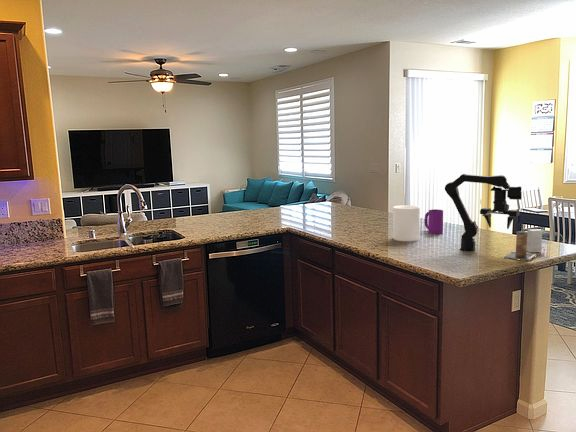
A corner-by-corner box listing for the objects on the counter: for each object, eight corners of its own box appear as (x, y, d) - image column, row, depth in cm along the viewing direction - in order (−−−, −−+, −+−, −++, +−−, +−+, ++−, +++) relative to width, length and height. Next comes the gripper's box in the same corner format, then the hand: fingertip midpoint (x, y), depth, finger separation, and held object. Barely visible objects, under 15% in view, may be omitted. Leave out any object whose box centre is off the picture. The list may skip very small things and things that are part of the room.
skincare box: (537, 250, 255) (538, 228, 253) (541, 252, 251) (542, 230, 249) (525, 251, 255) (526, 229, 253) (530, 253, 251) (531, 230, 249)
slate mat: (503, 258, 242) (503, 255, 242) (511, 253, 251) (511, 251, 251) (529, 261, 234) (529, 258, 234) (536, 256, 243) (536, 254, 243)
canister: (420, 241, 287) (420, 208, 284) (393, 241, 291) (393, 208, 288) (418, 236, 303) (418, 205, 300) (392, 236, 306) (393, 205, 303)
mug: (434, 234, 306) (434, 211, 303) (419, 230, 320) (419, 208, 317) (445, 233, 309) (446, 210, 307) (430, 229, 323) (430, 207, 321)
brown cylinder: (516, 258, 238) (518, 232, 236) (514, 255, 243) (515, 231, 241) (527, 258, 237) (529, 233, 235) (524, 256, 242) (526, 231, 240)
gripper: (523, 198, 251) (522, 227, 253) (487, 196, 263) (486, 224, 266) (516, 200, 243) (515, 230, 245) (479, 198, 255) (479, 227, 258)
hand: (498, 228), depth 254 cm, fingers open, 9 cm apart
